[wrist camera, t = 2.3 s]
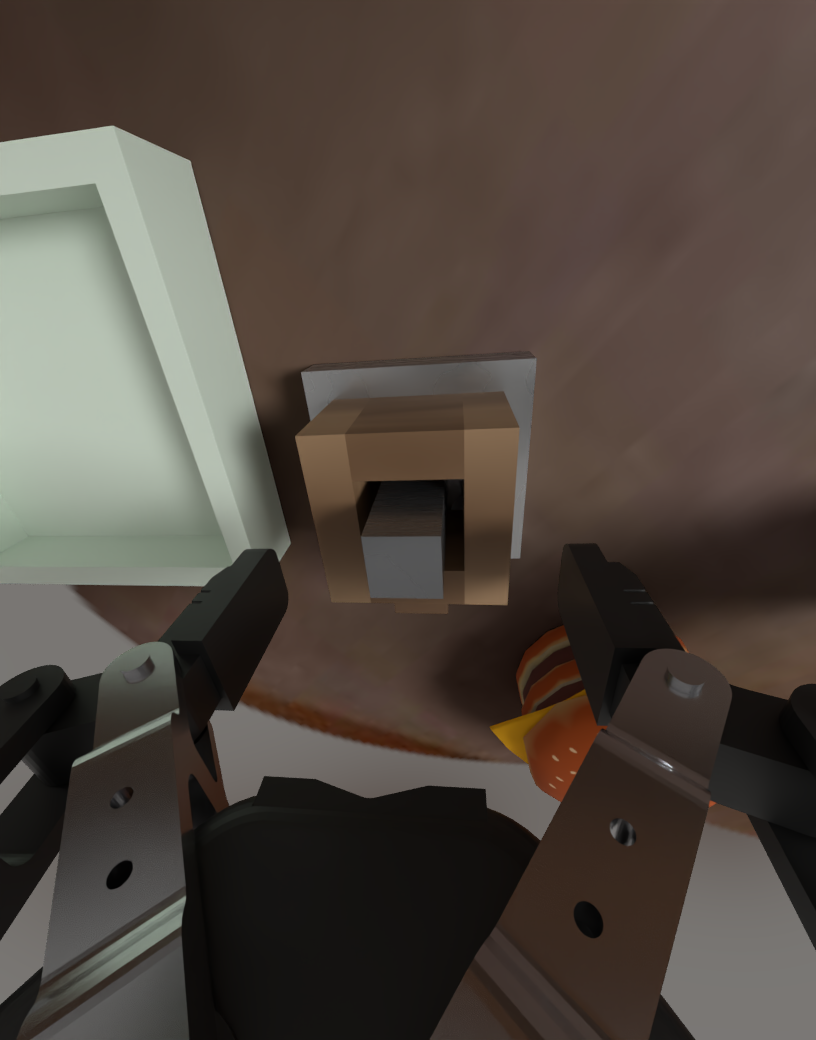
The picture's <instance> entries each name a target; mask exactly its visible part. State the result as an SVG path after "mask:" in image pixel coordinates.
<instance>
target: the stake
mask: <svg viewBox="0 0 816 1040" xmlns="http://www.w3.org/2000/svg"><path fill="white" fill-rule="evenodd" d="M536 361H537V358H536V357H535V356H534V355H533V354H532V353H531V352H530V351H529V352H513V353H496V354H480V355H464V356H447V357H431V358H415V359H398V360H382V361H365V362H349V363H333V364H316V365H312V366H311V367H309V368H307V369H306V370H304V371H302V372H301V375H302V380H303V385H304V390H305V395H306V400H307V406H308V411H309V416H310V421H311V420H313V419H314V418H315V417H316V416H317V415H318V414H319V413H320V412H321V411H322V410H323V409H324V408H325V407H326V406H327V405H328V404H329V403H330V402H331V401H332V400H337V399H358V398H378V397H398V396H418V395H439V394H459V393H479V392H499V391H504V393H505V395H506V397H507V400H508V402H509V404H510V407H511V409H512V411H513V414H514V416H515V418H516V420H517V423H518V425H519V427H520V430H519V444H518V459H517V473H516V488H515V502H514V517H513V531H512V546H511V558H520V552H521V540H522V528H523V516H524V504H525V492H526V480H527V469H528V457H529V445H530V433H531V421H532V409H533V397H534V385H535V373H536ZM447 510H463V479H442V480H398V481H381V485H380V487H379V490H378V493H377V495H376V498H375V501H374V503H373V506H372V509H371V511H370V514H369V517H368V519H367V522H366V525H365V527H364V530H363V533H362V535H361V541H362V547H363V553H364V560H365V566H366V573H367V579H368V585H369V592H370V598H416V599H443V594H444V570H445V546H446V522H447Z"/></svg>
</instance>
